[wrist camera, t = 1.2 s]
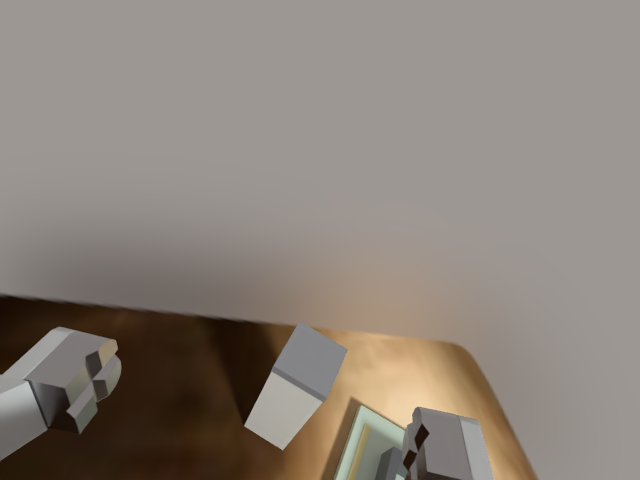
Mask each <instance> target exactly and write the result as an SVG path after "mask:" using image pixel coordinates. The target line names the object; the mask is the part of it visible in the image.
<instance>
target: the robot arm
mask: <svg viewBox="0 0 640 480" xmlns="http://www.w3.org/2000/svg"><path fill="white" fill-rule="evenodd" d="M117 350H118V347H117V344H116V340H112V339H108V338H104V337H100V336H96V335H92V334H88V333H84V332H80V331H76V330H71V329H67V328H63V327H58V328H55V329H53V330H51V331H50V332H49V333H48V334H47V335H46V336H44V337H43V338H42V339H41V340H40V341H39V342H38V343H37V344H36V345H35V346H33V347H32V348H31V349H30V350H29V351H28V352H27V353H26V354H25V355H24V356H22V357H21V358H20V359H19V360H18V361H17V362H16V363H15V364H14V365H13V366H11V367H10V368H9V369H8V370H7V371H6V372H5V373H4V374H3V375H0V460H2V459H3V458H5V457H6V456H8V455H9V454H11V453H12V452H14V451H15V450H17V449H18V448H20V447H22V446H23V445H25V444H26V443H28V442H29V441H31V440H32V439H34V438H35V437H37V436H38V435H40V434H41V433H43V432H44V431H46V430H47V428H52V429H57V430H62V431H67V432H72V433H77V434H80V433H81V432H82V431H83V429H84V428H85V427H86V425H87V424H88V423H89V421H90V420H91V419H92V417H93V416H94V415H95V413H96V412H97V411H98V401H100V400H101V399H103V398H105V397H107V396H109V394H110V393H111V391H112V390H113V389H114V387H115V386H116V384H117V381H118V379H119V376H120V372H121V363H120V360H119V359H118V358H117V357H116V355H115V354H114V353H115V352H116V351H117ZM412 417H413V423H411V424H409V425H407V428H406V430H405V433H404V438H403V443H402V463H403V465H404V466H405V468H406V469H407V471H408V473H407V475H406V477H405V479H404V480H494V477H493V473H492V469H491V465H490V461H489V457H488V453H487V450H486V446H485V442H484V438H483V434H482V430H481V426H480V424H479V422H478V421H477V420H476V419H472V418H468V417H463V416H458V415H455V414H451V413H447V412H442V411H437V410H432V409H427V408H422V407H417V408H415V410H414V412H413V414H412Z"/></svg>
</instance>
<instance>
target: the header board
mask: <svg viewBox="0 0 640 480" xmlns="http://www.w3.org/2000/svg"><path fill="white" fill-rule="evenodd" d="M404 433H405V431H404V430H403V429H401V428H399V427H398V426H396V425H394V424H393V423H391V422H389V421H388V420H386V419H384V418H383V417H381V416H379V415H378V414H376V413H374V412H373V411H371V410H369V409H367V408H366V407H364V406H362V405H361V406H360V407H359V408H358V409H357V412H356V415H355V418H354V421H353V423H352V426H351V429H350V432H349V435H348V438H347V441H346V444H345V447H344V449H343V452H342V455H341V458H340V461H339V464H338V467H337V470H336V472H335V475H334V478H333V480H404V479H405V477H406V475H407V473H408V471H407V469H406V468H405V466H404V465H403V463H402V443H403V438H404Z"/></svg>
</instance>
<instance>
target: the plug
mask: <svg viewBox="0 0 640 480" xmlns="http://www.w3.org/2000/svg"><path fill="white" fill-rule="evenodd" d="M347 350H348V349H346V348H344V347H343V346H341V345H339V344H338V343H336V342H334V341H332V340H331V339H329V338H327V337H326V336H324V335H322V334H320V333H319V332H317V331H315V330H314V329H312V328H310V327H308V326H307V325H305V324H303V323H301V322H299V324H298V325H297V327H296V329H295V330H294V332H293V334H292V335H291V337H290V339H289V340H288V342H287V344H286V346H285V347H284V349H283V351H282V352H281V354H280V356H279V357H278V359H277V361H276V362H275V364H274V366H273V368H272V370H271V371H272V372H271V374H270V376H269V378H268V380H267V381H266V383H265V385H264V387H263V389H262V391H261V393H260V395H259V397H258V399H257V401H256V403H255V405H254V407H253V409H252V411H251V413H250V415H249V417H248V419H247V421H246V423H245V425H244V426H245V427H246V428H248V429H250V430H251V431H253V432H254V433H256V434H258V435H259V436H261V437H262V438H264V439H266V440H267V441H269V442H271V443H272V444H274V445H275V446H277V447H279V448H280V449H282V450H283V449H284V448H285V447H286V446H287V444H288V443H289V442H290V441H291V440H292V438H293V437H294V436H295V435H296V434H297V432H298V431H299V430H300V429H301V427H302V426H303V425H304V424H305V423H306V421H307V420H308V419H309V418H310V417H311V415H312V414H313V413H314V412H315V411H316V409H317V408H318V407H319V406H320V405H321V403H322V402H324V401H325V400H326V399H327V397H328V395H329V392H330V390H331V388H332V385H333V383H334V381H335V378H336V376H337V374H338V371H339V369H340V367H341V364H342V362H343V360H344V357H345V355H346V352H347Z"/></svg>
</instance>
